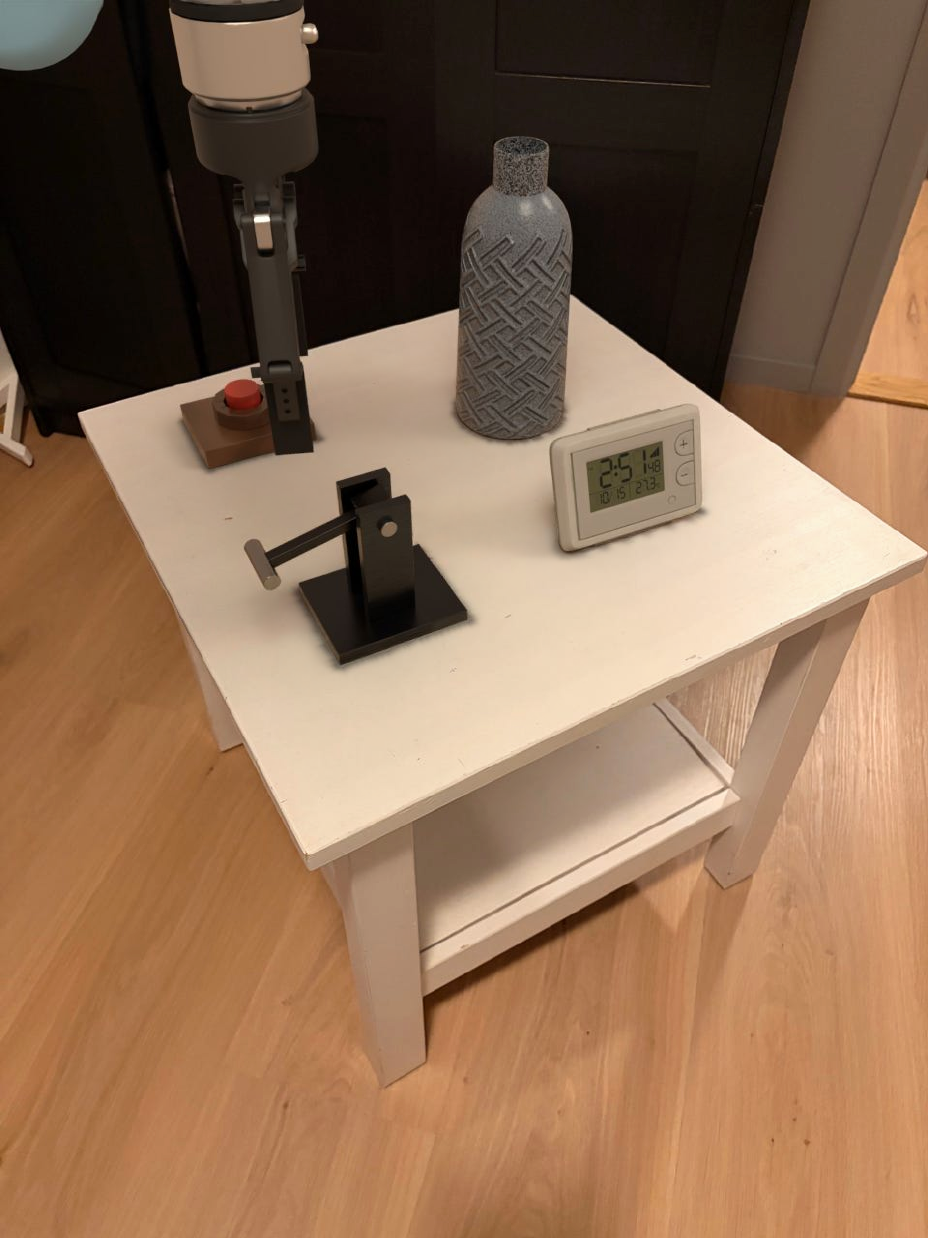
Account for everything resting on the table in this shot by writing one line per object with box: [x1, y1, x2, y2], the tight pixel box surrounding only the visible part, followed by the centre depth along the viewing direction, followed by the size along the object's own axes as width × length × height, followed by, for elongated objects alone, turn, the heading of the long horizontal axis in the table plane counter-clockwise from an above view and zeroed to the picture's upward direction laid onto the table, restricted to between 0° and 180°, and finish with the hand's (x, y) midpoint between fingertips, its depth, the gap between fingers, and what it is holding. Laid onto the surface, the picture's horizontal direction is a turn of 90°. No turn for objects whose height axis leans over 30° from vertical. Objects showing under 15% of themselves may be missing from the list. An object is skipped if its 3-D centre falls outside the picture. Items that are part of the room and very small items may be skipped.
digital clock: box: [548, 403, 703, 552], centre depth 88 cm, size 16×9×11 cm, turn 103°
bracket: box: [297, 466, 468, 666], centre depth 78 cm, size 12×10×13 cm
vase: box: [455, 136, 574, 440], centre depth 95 cm, size 12×12×28 cm
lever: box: [243, 483, 391, 591], centre depth 74 cm, size 12×5×2 cm, turn 117°
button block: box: [179, 383, 317, 470], centre depth 101 cm, size 12×10×4 cm
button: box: [223, 378, 261, 410], centre depth 99 cm, size 4×4×2 cm
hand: (292, 400), depth 71 cm, fingers open, 13 cm apart
